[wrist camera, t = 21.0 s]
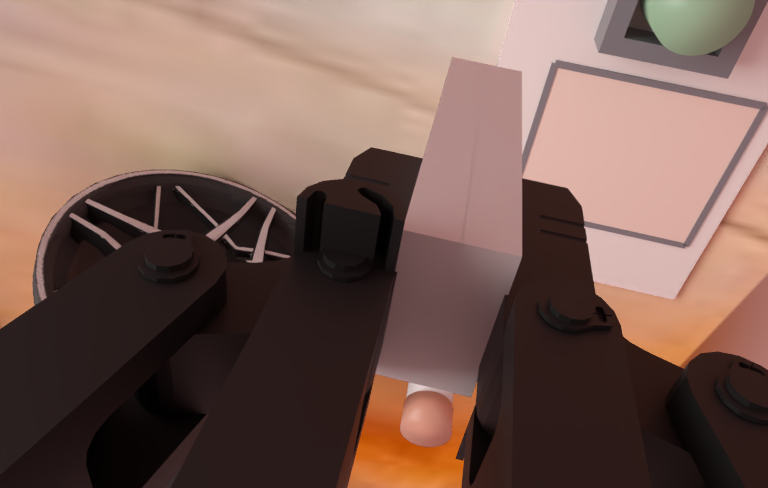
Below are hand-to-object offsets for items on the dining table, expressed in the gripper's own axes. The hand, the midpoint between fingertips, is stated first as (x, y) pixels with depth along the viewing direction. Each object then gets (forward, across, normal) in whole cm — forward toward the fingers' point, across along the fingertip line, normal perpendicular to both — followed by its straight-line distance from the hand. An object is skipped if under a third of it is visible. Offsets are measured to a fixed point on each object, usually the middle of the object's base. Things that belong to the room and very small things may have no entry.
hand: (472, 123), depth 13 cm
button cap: (+23, +10, 0) cm, 25 cm away
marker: (+24, +2, -27) cm, 36 cm away
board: (+24, +10, -9) cm, 28 cm away
